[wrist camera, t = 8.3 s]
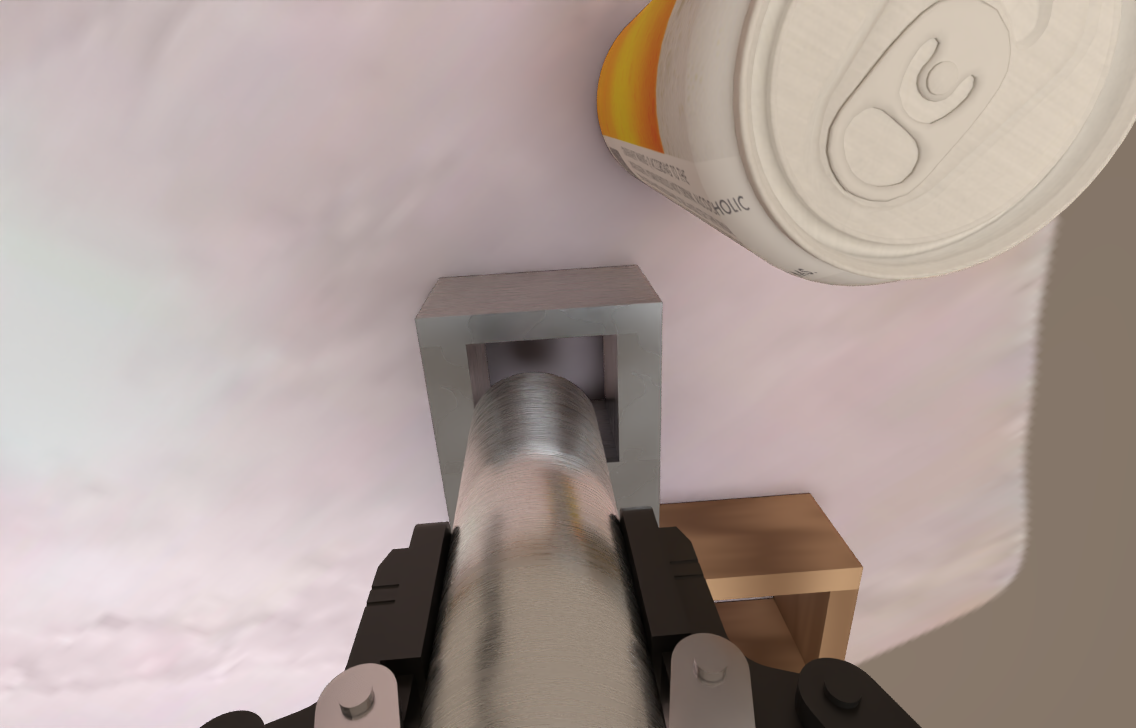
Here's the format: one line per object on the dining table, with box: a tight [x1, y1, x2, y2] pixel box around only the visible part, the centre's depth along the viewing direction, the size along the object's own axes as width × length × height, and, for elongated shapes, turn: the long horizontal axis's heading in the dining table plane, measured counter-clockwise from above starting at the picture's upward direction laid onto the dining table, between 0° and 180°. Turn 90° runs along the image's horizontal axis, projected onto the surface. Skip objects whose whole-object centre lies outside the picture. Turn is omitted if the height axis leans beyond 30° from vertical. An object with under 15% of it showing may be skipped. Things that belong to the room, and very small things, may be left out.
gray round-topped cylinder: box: [418, 372, 667, 728], centre depth 13 cm, size 4×4×11 cm
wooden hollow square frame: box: [659, 493, 863, 673], centre depth 27 cm, size 8×8×5 cm
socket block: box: [415, 265, 662, 533], centre depth 24 cm, size 8×16×5 cm, turn 3°
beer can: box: [597, 0, 1136, 286], centre depth 14 cm, size 6×6×15 cm
